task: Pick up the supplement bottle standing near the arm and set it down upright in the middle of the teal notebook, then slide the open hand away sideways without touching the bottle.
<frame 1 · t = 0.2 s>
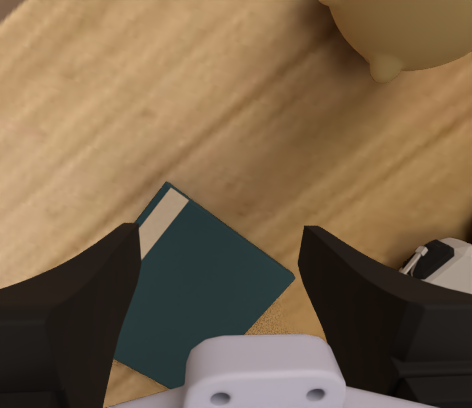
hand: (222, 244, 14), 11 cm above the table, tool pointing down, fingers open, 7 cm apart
robot toy: (461, 260, 28), on the table
teal notebook: (177, 297, 26), on the table
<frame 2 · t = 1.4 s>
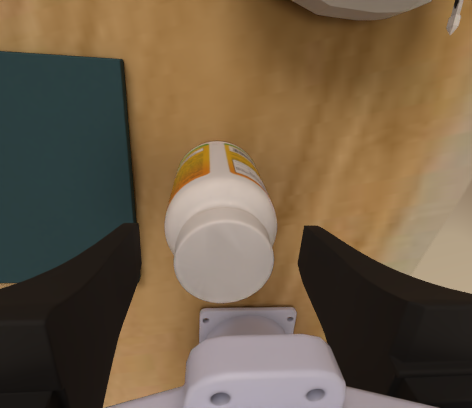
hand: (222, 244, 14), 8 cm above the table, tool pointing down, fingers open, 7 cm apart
supplement bottle: (217, 178, 21), on the table
teal notebook: (29, 181, 20), on the table
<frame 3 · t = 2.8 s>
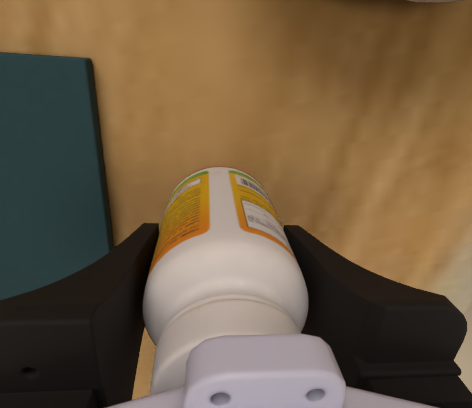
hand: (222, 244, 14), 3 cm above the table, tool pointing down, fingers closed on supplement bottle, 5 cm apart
supplement bottle: (219, 212, 17), on the table, touching gripper
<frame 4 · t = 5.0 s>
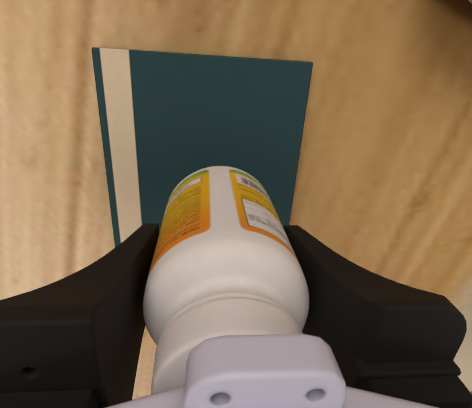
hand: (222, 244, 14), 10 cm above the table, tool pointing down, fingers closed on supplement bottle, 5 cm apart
supplement bottle: (219, 211, 16), point 7 cm above the table, touching gripper
teal notebook: (204, 171, 22), on the table
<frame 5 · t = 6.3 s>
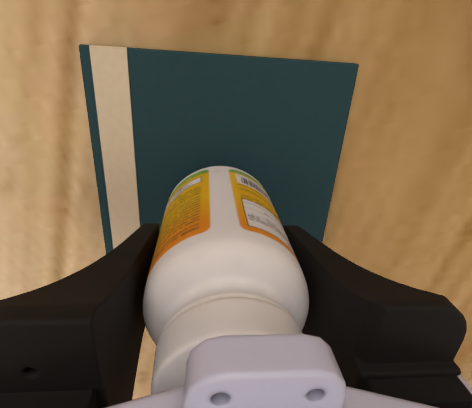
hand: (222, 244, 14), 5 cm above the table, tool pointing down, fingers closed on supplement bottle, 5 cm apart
supplement bottle: (219, 211, 16), point 2 cm above the table, touching gripper
teal notebook: (218, 196, 18), on the table
when the fingers open (4 cm above the table, at t = 7.3 s): supplement bottle stays where it is, resting on teal notebook.
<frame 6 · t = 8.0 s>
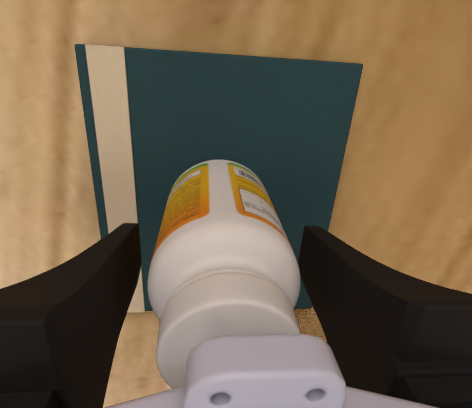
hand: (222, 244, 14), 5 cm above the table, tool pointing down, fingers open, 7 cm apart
supplement bottle: (218, 203, 17), point 1 cm above the table, touching teal notebook
teal notebook: (218, 199, 18), on the table
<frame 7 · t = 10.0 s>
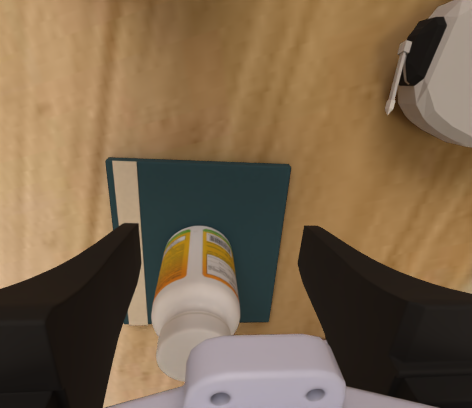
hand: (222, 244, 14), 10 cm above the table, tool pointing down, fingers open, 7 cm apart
supplement bottle: (198, 251, 25), point 1 cm above the table, touching teal notebook
teal notebook: (199, 248, 26), on the table
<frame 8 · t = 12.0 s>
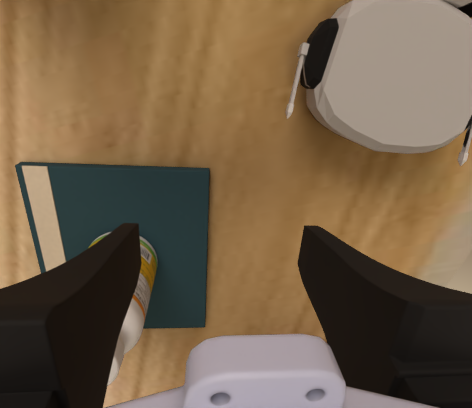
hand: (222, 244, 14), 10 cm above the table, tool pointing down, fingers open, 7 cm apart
supplement bottle: (124, 257, 25), point 1 cm above the table, touching teal notebook
robot toy: (393, 24, 20), on the table
teal notebook: (126, 253, 26), on the table
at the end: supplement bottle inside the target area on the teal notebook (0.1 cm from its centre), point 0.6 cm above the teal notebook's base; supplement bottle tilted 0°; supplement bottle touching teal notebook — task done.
